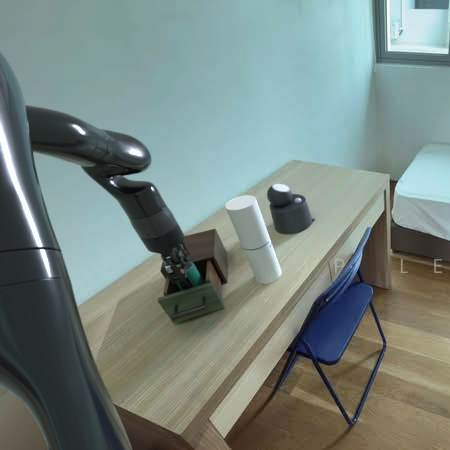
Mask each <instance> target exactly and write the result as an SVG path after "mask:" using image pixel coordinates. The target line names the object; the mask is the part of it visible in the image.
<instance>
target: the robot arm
mask: <svg viewBox="0 0 450 450" xmlns="http://www.w3.org/2000/svg"><path fill="white" fill-rule="evenodd" d="M34 154H38V155H43V156H47V157H50V158H53V159H56V160H60V161H63V162H66V163H70V164H73V165H76V166H79V167H80V168H81V170H83V172H84V173H85V174H86V175H87V176H88V177H89V178H90V179H92V180H93V181H94V182H95V183H97V184H98V186H100V187H101V188H102V189H103V190H105V191H106V192H107V193H108V194H109V195H110V196H112V198H113V199H115V201H117V203H118V204H119V206H120V207H121V209H122V210H123V212H124V213H125V215H126V216H127V218H128V220H129V222H130V225H131V227H132V228H133V230H134V231H135V233H136V234H137V236H138V238H139V239H140V240H141V242H142V243H143V245H144V247H145V248H146V250H147V251H148V252H150V253H153V254H159V255H160V259H161V261H162V262H164V263H165V265H166V266H163V267H161V266H160V270H162V272H163V273H164V274H165V275H166V276H167V277H168V279H169V280H170V281H171V282H172V283H173V284H175V283H179V284H180V286H181V287H182V289H183V290H187V289H190V288H193V284H192V282H191V280H190V279H189V277H188V275H187V273H186V271H185V267H186V264H185V262H186V261H190V258H189V257H188V255H189V254H190V253H189V251H188V249H187V247H186V245H185V242H184V239H185V236H186V235H185V233H184V232H183V230H182V228H181V226H180V224H179V223H178V221H177V219H176V217H175V215H174V213H173V212H172V210H171V209H170V208H169V206H168V205H167V204H166V201H165V200H164V198H163V196H162V194H161V193H160V190H159V188H158V187H157V185H155V183H153V182H151V181H147V180H134V179H129V178H127V177H125V176H131V175H138V174H141V173H144V172H146V171H147V170H148V169H150V167H151V165H152V161H153V158H152V154H151V152H150V150H149V148H148V147H147V146H146V145H145V144H144V142H143V141H141V140H140V139H139V138H136V137H135V136H132V135H130V134H127V133H123V132H117V131H114V130H111V129H110V130H109V129H104V128H99V127H97V126H95V125H93V124H91V123H89V122H87V121H85V120H83V119H81V118H79V117H77V116H75V115H71V114H70V113H66V112H63V111H59V110H55V109H50V108H46V107H41V106H35V105H29V104H26V102H25V98H24V94H23V90H22V87H21V84H20V82H19V80H18V77H17V75H16V73H15V71H14V69H13V68H12V66H11V65H10V63H9V61H8V59H7V58H6V57H5V55H4V54H3V53H2V52H1V51H0V388H2V389H4V390H6V391H7V392H9V393H10V394H12V395H13V396H14V397H15V398H17V399H18V400H19V401H20V402H21V403H22V404H23V405H24V406H25V407H26V409H27V410H28V411H29V412H30V414H31V415H32V417H33V418H34V420H35V422H36V423H37V426H38V427H39V429H40V431H41V434H42V436H43V438H44V441H45V443H46V445H47V449H46V450H133V447H132V444H131V441H130V437H129V436H128V434H127V432H126V429H125V426H124V424H123V422H122V420H121V417H120V414H119V413H118V410H117V409H116V407H115V404H114V401H113V400H112V397H111V395H110V393H109V391H108V389H107V386H106V383H105V382H104V380H103V377H102V375H101V373H100V370H99V368H98V366H97V363H96V360H95V357H94V355H93V353H92V349H91V346H90V343H89V340H88V338H87V333H86V330H85V327H84V324H83V322H82V318H81V315H80V311H79V307H78V304H77V299H76V296H75V295H76V294H75V292H74V288H73V283H72V279H71V276H70V274H69V273H70V272H69V270H68V267H67V266H68V265H67V263H66V259H65V257H64V254H63V252H62V247H61V245H60V242H59V240H58V237H57V235H56V232H55V229H54V226H53V223H52V221H51V220H52V219H51V217H50V214H49V212H48V207H47V204H46V201H45V197H44V194H43V190H42V186H41V183H40V179H39V175H38V171H37V166H36V161H35V155H34ZM179 264H181V266H177V265H179ZM180 270H181V271H182V272H181V271H180Z"/></svg>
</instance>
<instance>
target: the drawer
mask: <svg viewBox="0 0 450 450" xmlns="http://www.w3.org/2000/svg"><path fill="white" fill-rule="evenodd" d="M194 265H195V266H196V268H197V270H198V272H199V273H200V275H201V277H202V279H203V281H204V282H205V284H203V285H200V286H197V287H193V288H190V289H187V290H183V291H181V289H180V288H179V286H178V285H177V283H175V284H173V283H172V282H171V281H170V280H169V279H168V277H167V279H165V284H164V288H163V293H162V294H163V296H159V297H158V298H157V302H158V305H160V307H161V308H162V310H163V311H164V313H165V314H166V315H167V317H168V318H169V320H170V321H171V323H172V324H174V325H175V324H178V323H181V322H184V321H187V320H189V319H193V318H196V317H199V316H202V315H205V314H208V313H211V312H214V311H217V310H220V309H224V308H225V303H224V302H223V300H222V297H221V296H222V295H221V294H222V284H221V276H220V274H219V272H218V270H217V268H216V266H215V264H214V262H213V260H212V259H210V260H207V261H203V262H199V263H196V264H194Z"/></svg>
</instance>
